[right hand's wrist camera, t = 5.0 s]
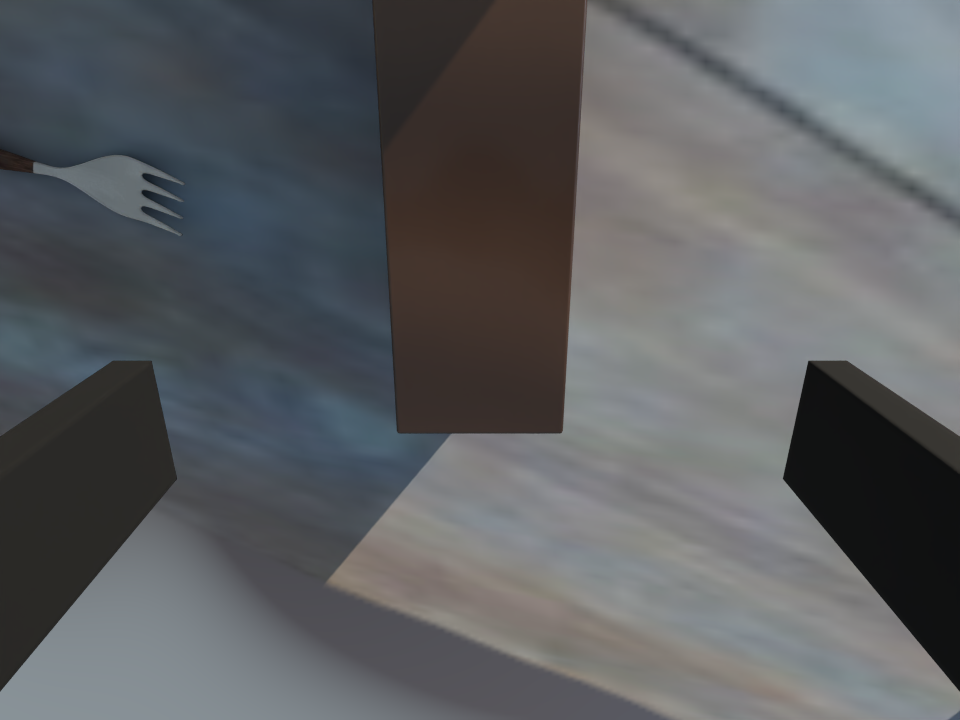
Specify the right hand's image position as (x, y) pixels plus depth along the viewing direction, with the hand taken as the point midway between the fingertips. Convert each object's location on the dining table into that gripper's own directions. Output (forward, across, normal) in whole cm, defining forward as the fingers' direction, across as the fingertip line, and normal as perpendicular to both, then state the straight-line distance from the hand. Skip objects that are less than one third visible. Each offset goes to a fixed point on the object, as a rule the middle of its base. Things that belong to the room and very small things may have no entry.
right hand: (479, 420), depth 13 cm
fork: (+17, +20, -4) cm, 26 cm away
